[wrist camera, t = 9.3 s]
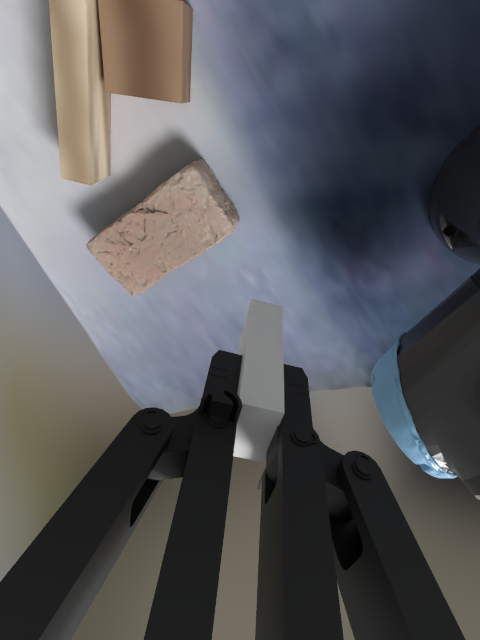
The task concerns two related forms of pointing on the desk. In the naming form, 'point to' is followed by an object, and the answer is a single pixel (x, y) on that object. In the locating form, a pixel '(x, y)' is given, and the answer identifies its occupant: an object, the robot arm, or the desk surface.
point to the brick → (166, 229)
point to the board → (80, 91)
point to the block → (147, 48)
